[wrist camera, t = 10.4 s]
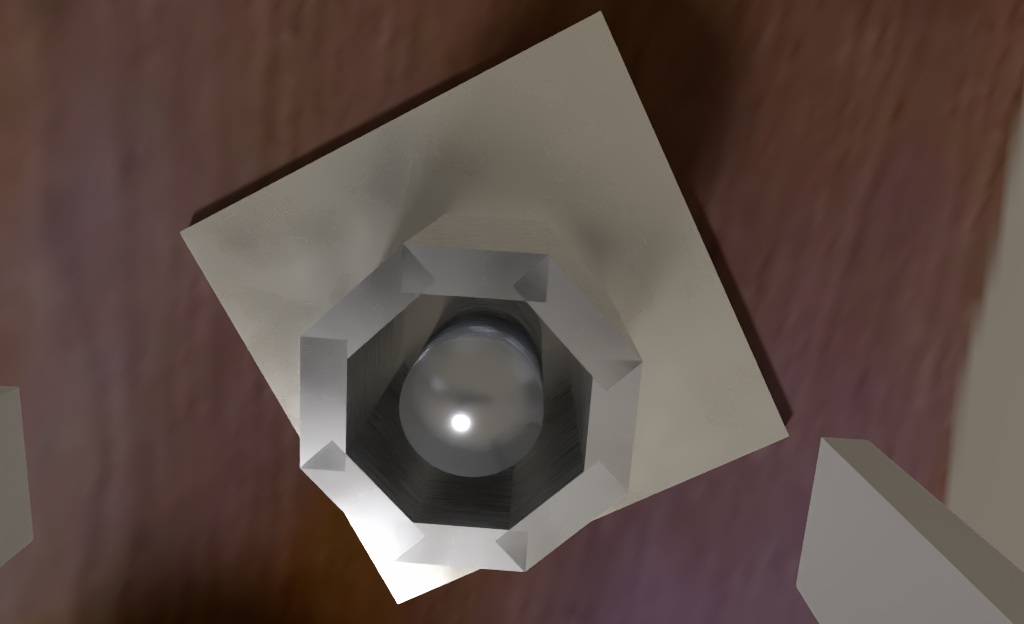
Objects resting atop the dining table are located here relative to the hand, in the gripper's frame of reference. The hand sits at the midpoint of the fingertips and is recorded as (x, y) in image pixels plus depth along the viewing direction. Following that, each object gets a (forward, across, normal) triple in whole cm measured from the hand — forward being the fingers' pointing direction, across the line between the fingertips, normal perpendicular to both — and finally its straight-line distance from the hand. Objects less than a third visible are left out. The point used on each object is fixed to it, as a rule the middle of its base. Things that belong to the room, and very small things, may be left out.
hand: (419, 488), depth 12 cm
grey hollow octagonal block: (+11, +1, 0) cm, 11 cm away
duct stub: (+11, +1, 0) cm, 11 cm away
